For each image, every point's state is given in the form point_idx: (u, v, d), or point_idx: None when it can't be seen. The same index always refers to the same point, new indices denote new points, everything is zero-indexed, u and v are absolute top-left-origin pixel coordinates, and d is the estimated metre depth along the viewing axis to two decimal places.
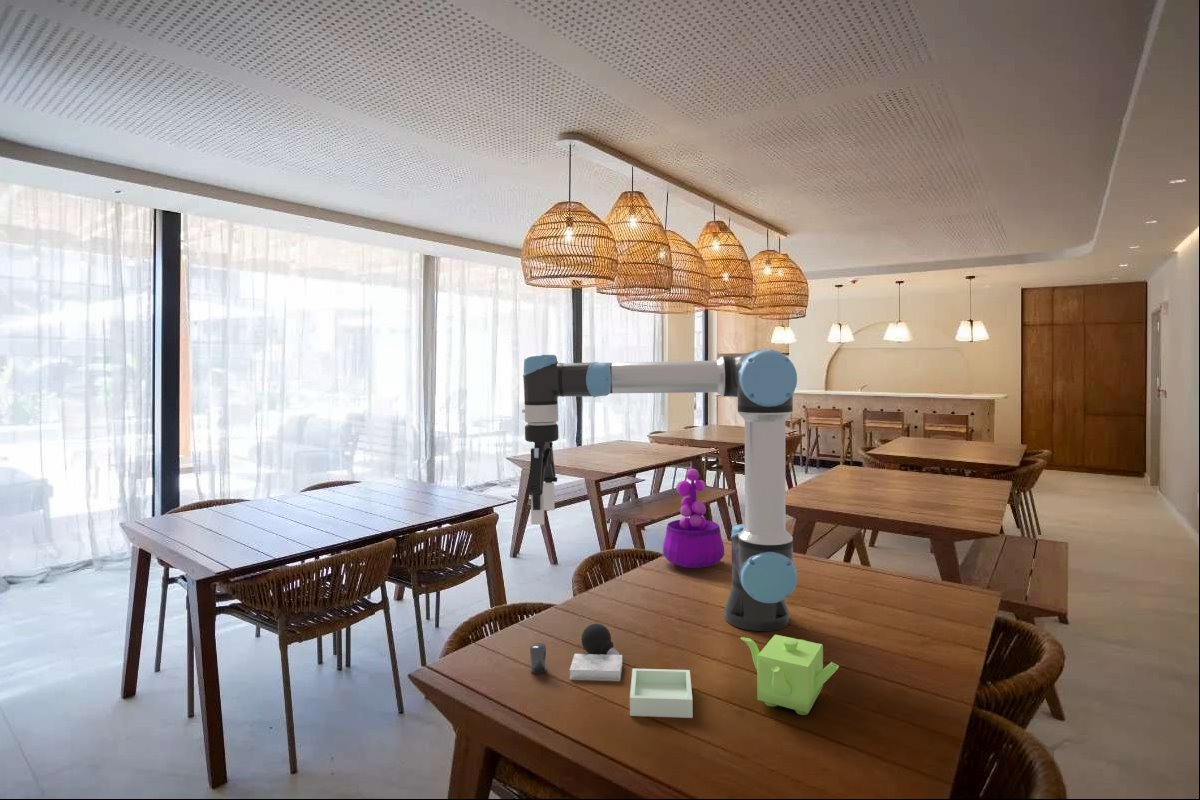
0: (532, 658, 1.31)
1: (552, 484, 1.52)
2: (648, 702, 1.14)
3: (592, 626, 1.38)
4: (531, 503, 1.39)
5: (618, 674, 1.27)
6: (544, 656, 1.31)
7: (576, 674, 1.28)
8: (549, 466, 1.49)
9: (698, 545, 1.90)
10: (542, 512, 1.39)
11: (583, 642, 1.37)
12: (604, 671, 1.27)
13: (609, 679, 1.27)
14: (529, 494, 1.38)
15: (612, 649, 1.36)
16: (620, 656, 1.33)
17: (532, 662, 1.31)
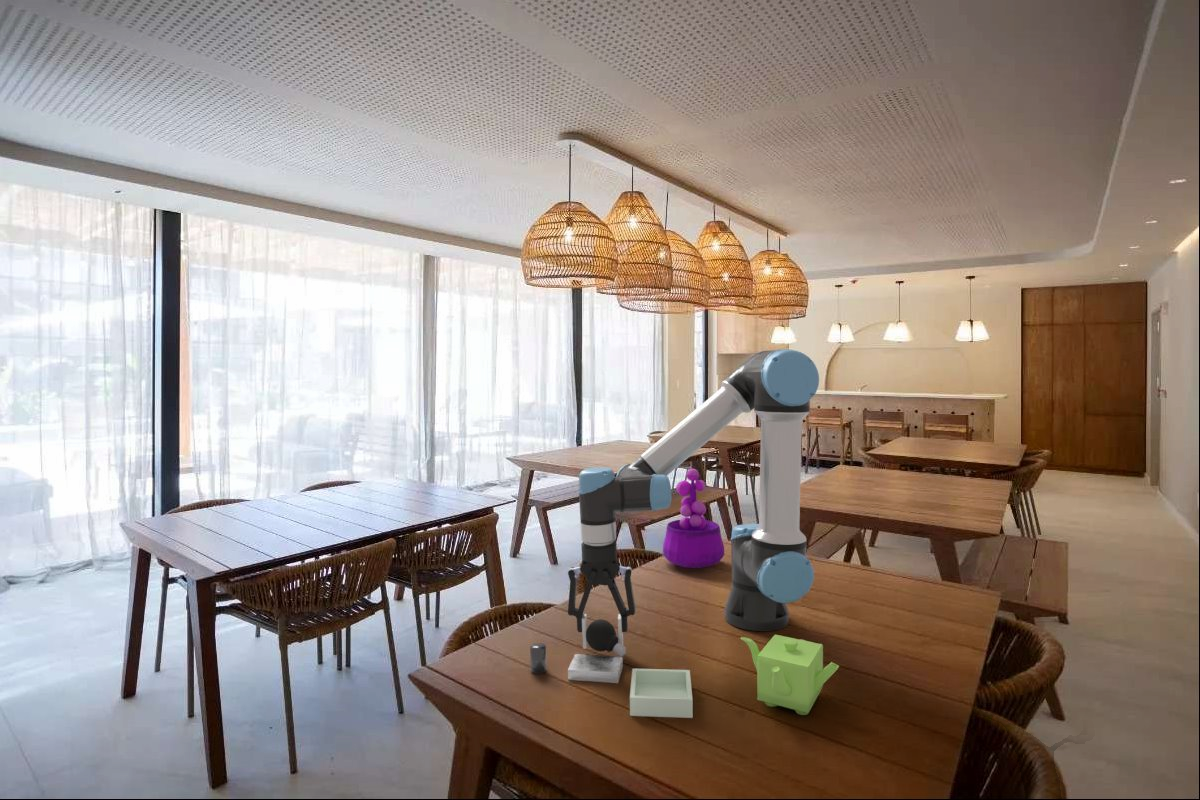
0: (532, 658, 1.31)
1: None
2: (648, 702, 1.14)
3: (596, 622, 1.37)
4: None
5: (616, 676, 1.26)
6: (544, 656, 1.31)
7: (574, 674, 1.28)
8: None
9: (698, 545, 1.90)
10: None
11: (588, 639, 1.36)
12: (602, 672, 1.27)
13: (607, 680, 1.27)
14: None
15: (618, 644, 1.35)
16: (620, 658, 1.32)
17: (532, 662, 1.31)
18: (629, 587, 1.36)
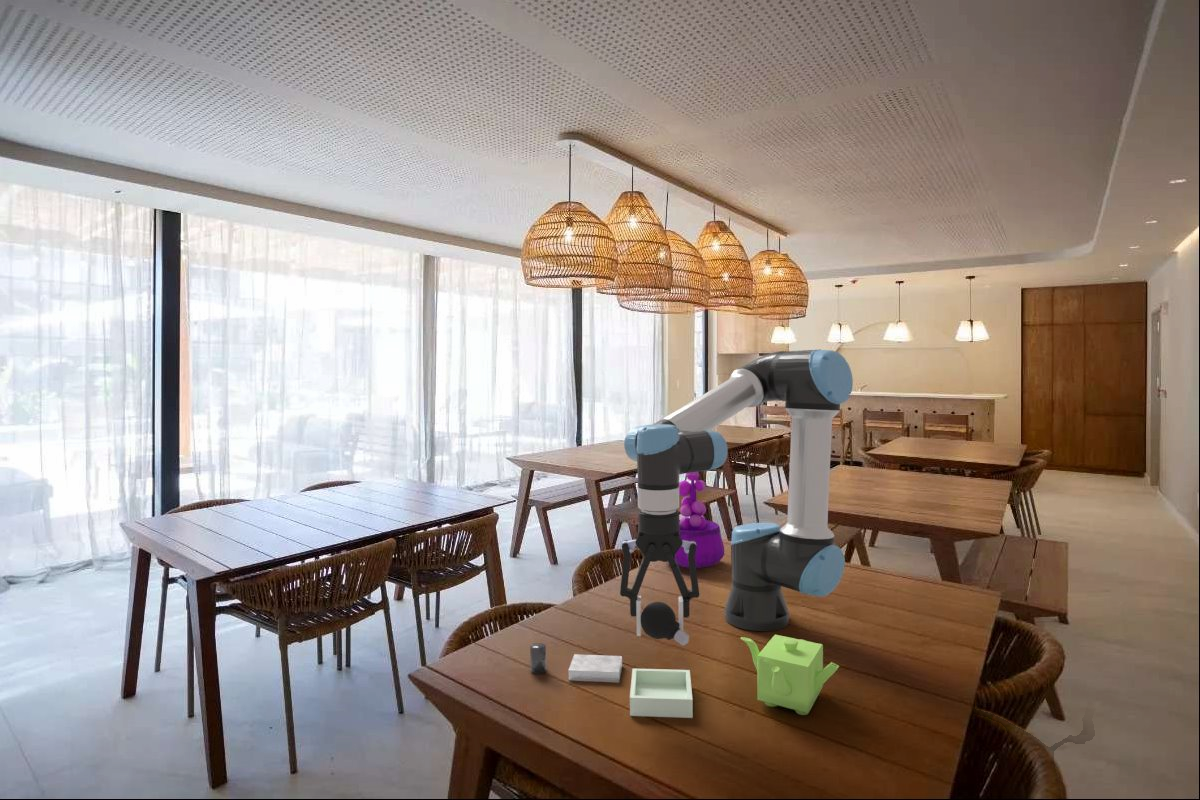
0: (532, 658, 1.31)
1: None
2: (648, 702, 1.14)
3: (654, 605, 1.17)
4: None
5: (617, 675, 1.26)
6: (544, 656, 1.31)
7: (575, 675, 1.27)
8: (672, 571, 1.17)
9: (698, 545, 1.90)
10: None
11: (644, 624, 1.15)
12: (603, 672, 1.27)
13: (608, 680, 1.27)
14: None
15: (680, 631, 1.14)
16: (620, 657, 1.33)
17: (532, 662, 1.31)
18: (693, 564, 1.16)
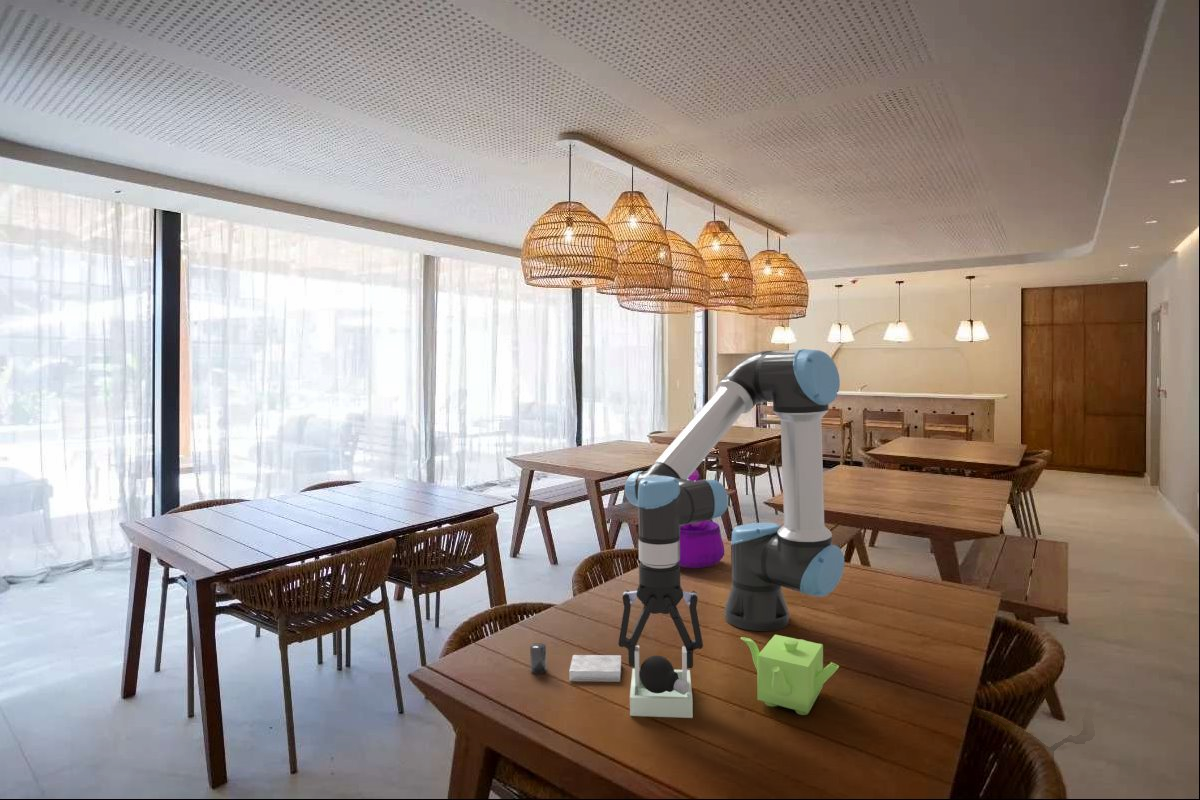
0: (532, 658, 1.31)
1: (682, 653, 1.17)
2: (648, 702, 1.14)
3: (650, 658, 1.18)
4: None
5: (618, 674, 1.27)
6: (544, 656, 1.31)
7: (576, 675, 1.27)
8: None
9: (698, 545, 1.90)
10: (635, 671, 1.18)
11: (643, 678, 1.17)
12: (604, 672, 1.27)
13: (609, 680, 1.27)
14: None
15: (679, 680, 1.15)
16: (619, 656, 1.33)
17: (532, 662, 1.31)
18: (695, 616, 1.17)
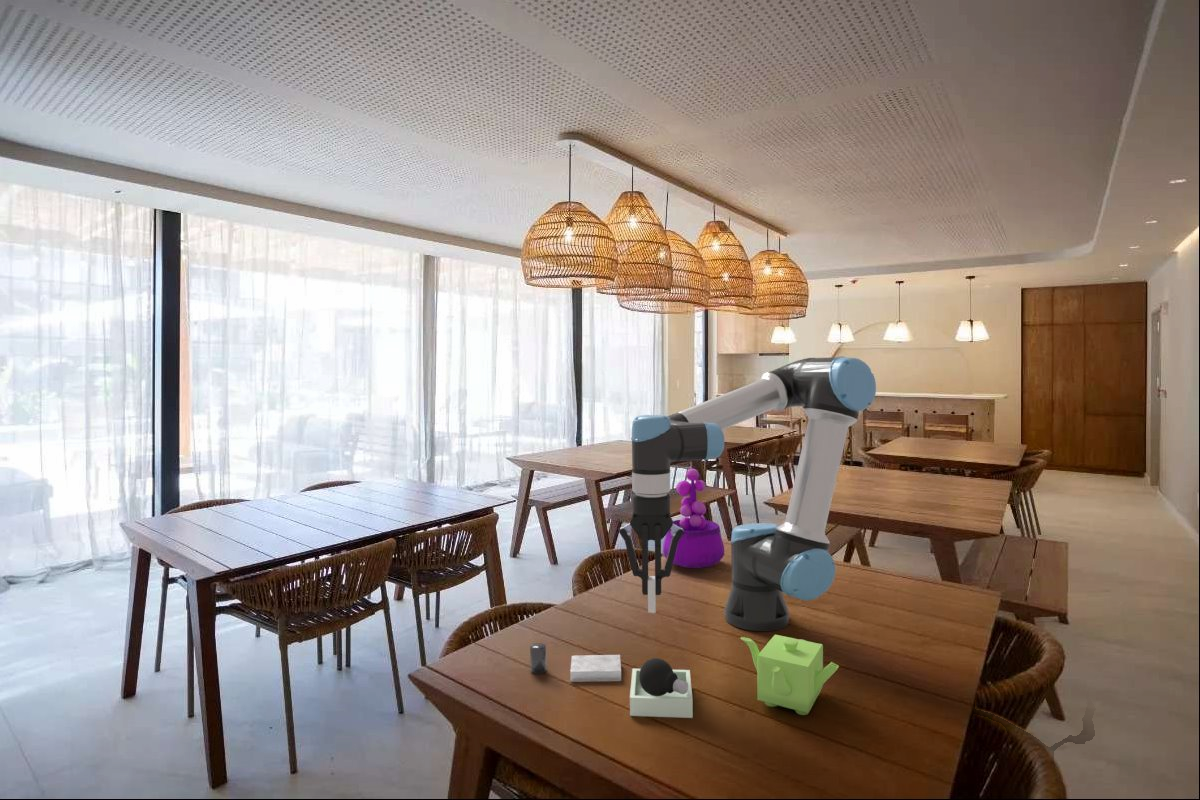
0: (532, 658, 1.31)
1: None
2: (648, 702, 1.14)
3: (648, 661, 1.19)
4: None
5: (619, 674, 1.27)
6: (544, 656, 1.31)
7: (577, 676, 1.27)
8: None
9: (698, 545, 1.90)
10: None
11: (643, 682, 1.17)
12: (605, 672, 1.27)
13: (610, 679, 1.27)
14: None
15: (678, 680, 1.15)
16: (618, 656, 1.33)
17: (532, 662, 1.31)
18: (675, 548, 1.27)
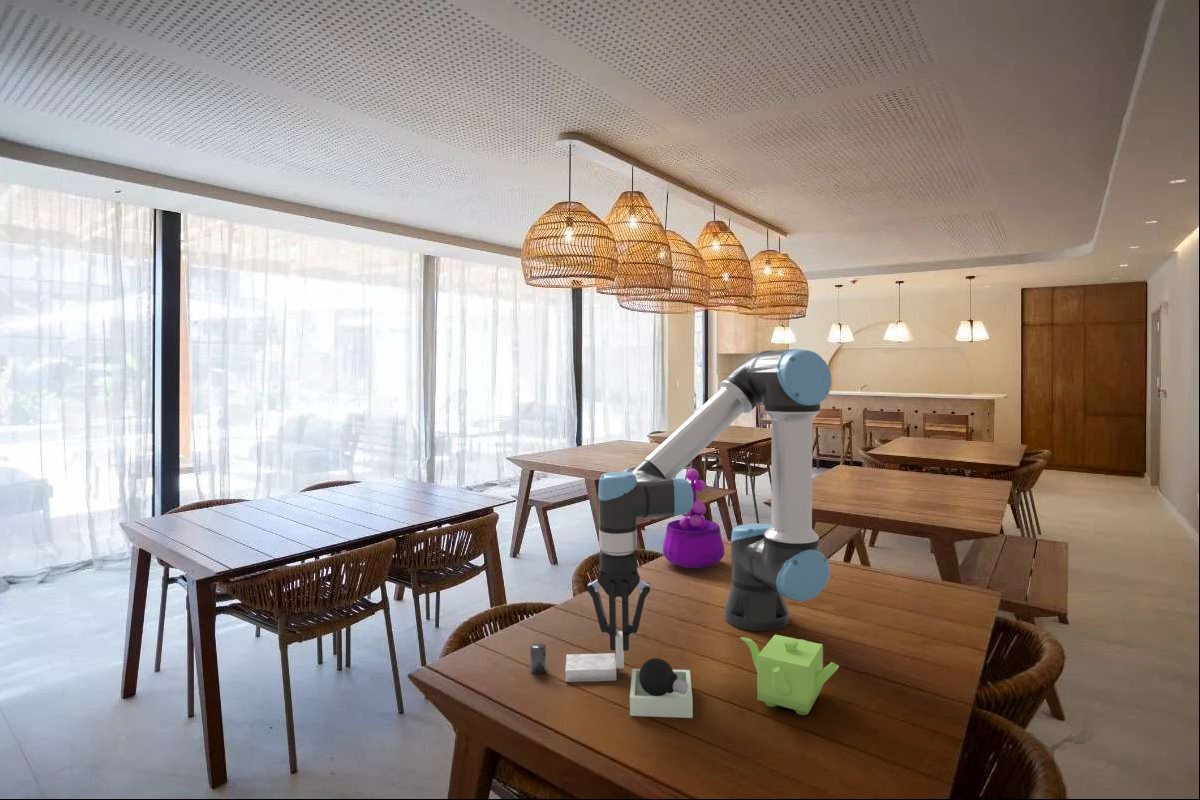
0: (532, 658, 1.31)
1: None
2: (648, 702, 1.14)
3: (648, 661, 1.19)
4: None
5: (614, 672, 1.27)
6: (544, 656, 1.31)
7: (572, 675, 1.27)
8: (622, 606, 1.29)
9: (698, 545, 1.90)
10: None
11: (643, 682, 1.17)
12: (600, 670, 1.27)
13: (605, 678, 1.27)
14: None
15: (678, 680, 1.15)
16: (613, 654, 1.33)
17: (532, 662, 1.31)
18: (642, 604, 1.28)
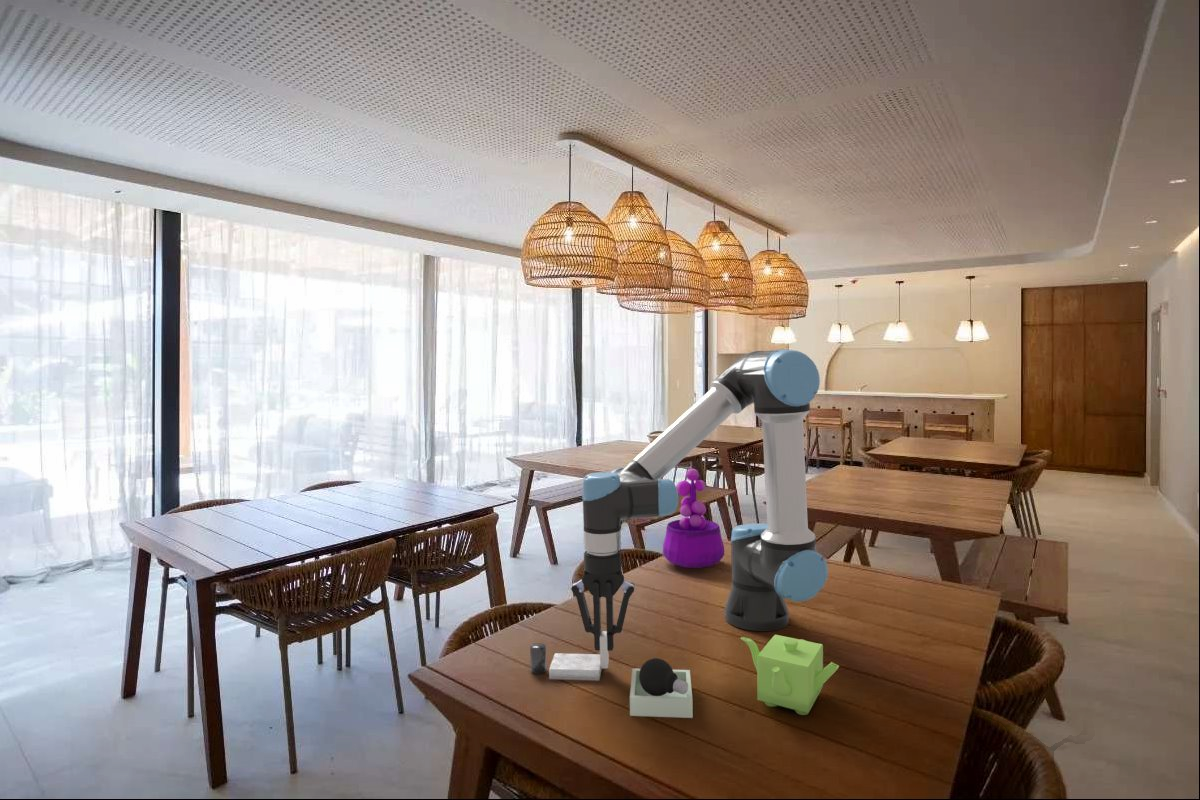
0: (532, 658, 1.31)
1: None
2: (648, 702, 1.14)
3: (648, 661, 1.19)
4: None
5: (597, 673, 1.27)
6: (544, 656, 1.31)
7: (556, 673, 1.28)
8: (606, 606, 1.29)
9: (698, 545, 1.90)
10: (600, 655, 1.29)
11: (643, 682, 1.17)
12: (583, 671, 1.28)
13: (588, 678, 1.28)
14: None
15: (678, 680, 1.15)
16: None
17: (532, 662, 1.31)
18: (626, 604, 1.28)
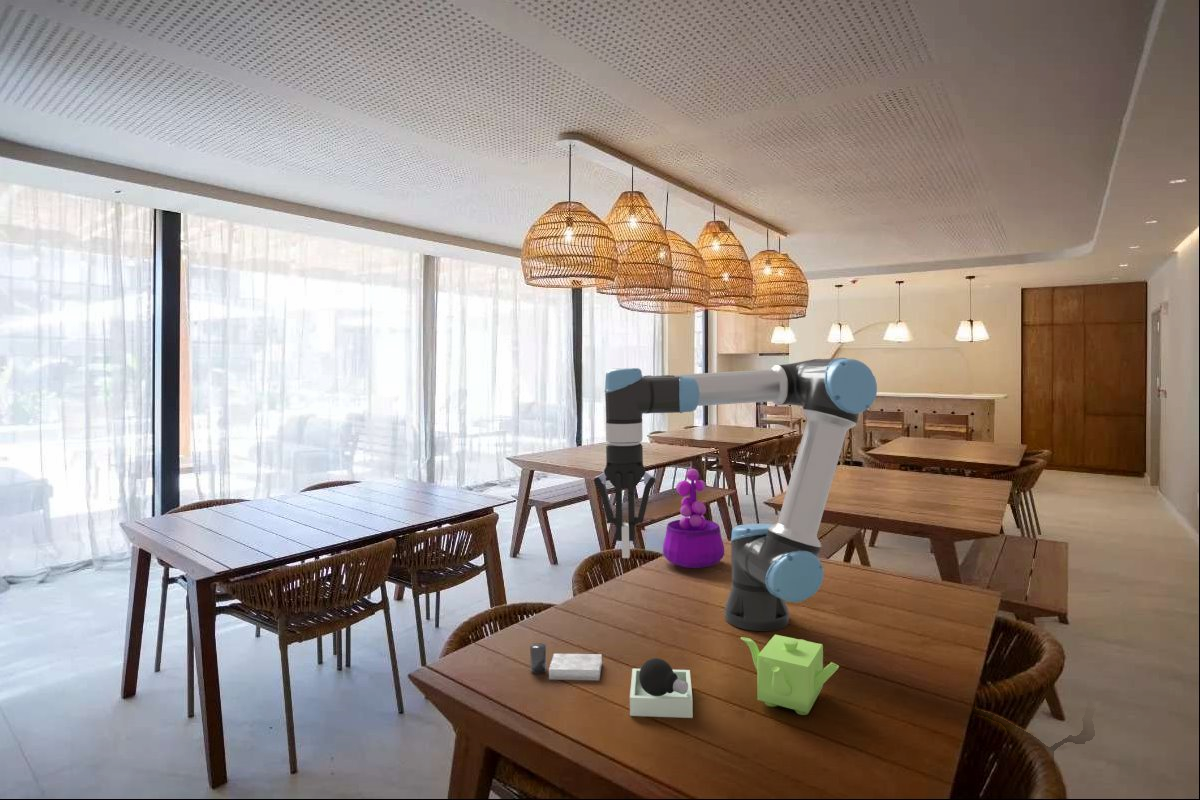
0: (532, 658, 1.31)
1: None
2: (648, 702, 1.14)
3: (648, 661, 1.19)
4: None
5: (597, 673, 1.27)
6: (544, 656, 1.31)
7: (555, 674, 1.28)
8: (628, 497, 1.32)
9: (698, 545, 1.90)
10: None
11: (643, 682, 1.17)
12: (583, 670, 1.28)
13: (588, 678, 1.28)
14: None
15: (678, 680, 1.15)
16: (599, 655, 1.34)
17: (532, 662, 1.31)
18: (647, 495, 1.32)
